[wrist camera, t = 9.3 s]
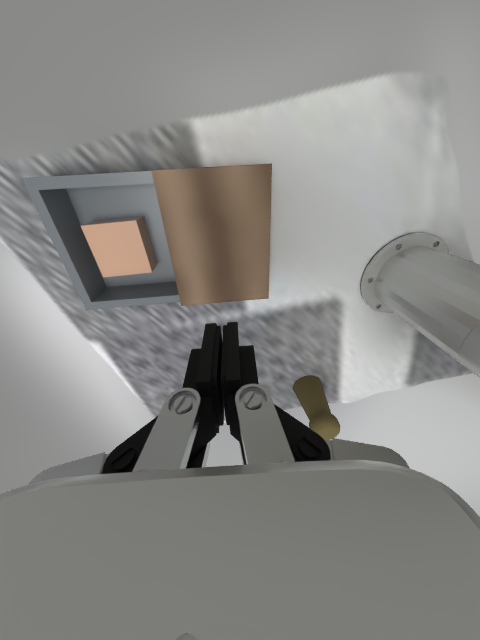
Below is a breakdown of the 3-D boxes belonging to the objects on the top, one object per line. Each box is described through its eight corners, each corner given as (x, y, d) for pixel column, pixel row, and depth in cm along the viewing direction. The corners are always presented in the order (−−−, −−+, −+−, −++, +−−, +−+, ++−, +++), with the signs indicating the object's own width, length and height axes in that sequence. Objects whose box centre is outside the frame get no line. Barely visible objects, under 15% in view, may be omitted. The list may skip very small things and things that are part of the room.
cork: (288, 384, 47) (305, 435, 37) (314, 371, 45) (339, 421, 36) (300, 398, 50) (319, 449, 40) (325, 386, 48) (350, 436, 39)
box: (164, 171, 25) (153, 170, 21) (186, 285, 33) (182, 301, 29) (54, 177, 24) (20, 178, 20) (103, 292, 32) (86, 309, 28)
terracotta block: (80, 225, 24) (93, 221, 27) (103, 277, 27) (112, 268, 30) (135, 220, 24) (143, 216, 27) (152, 272, 28) (157, 264, 30)
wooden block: (261, 166, 26) (271, 163, 20) (260, 279, 33) (268, 298, 28) (164, 171, 25) (151, 170, 20) (186, 285, 33) (181, 305, 28)
